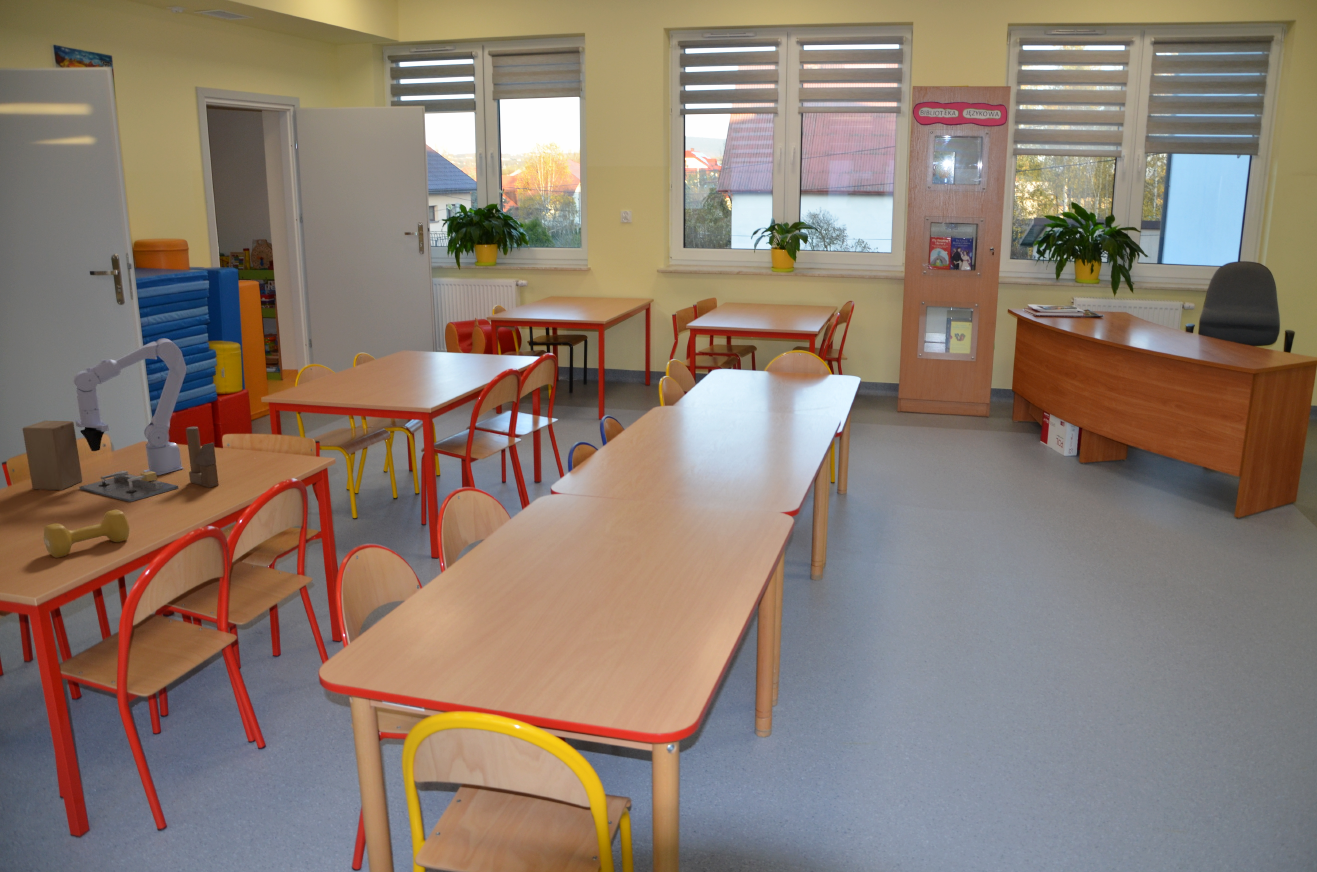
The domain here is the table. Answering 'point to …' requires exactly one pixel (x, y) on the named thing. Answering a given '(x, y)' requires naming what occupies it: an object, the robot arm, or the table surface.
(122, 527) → the dumbbell
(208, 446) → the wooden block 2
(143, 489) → the hole plate
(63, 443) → the wooden block
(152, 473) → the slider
